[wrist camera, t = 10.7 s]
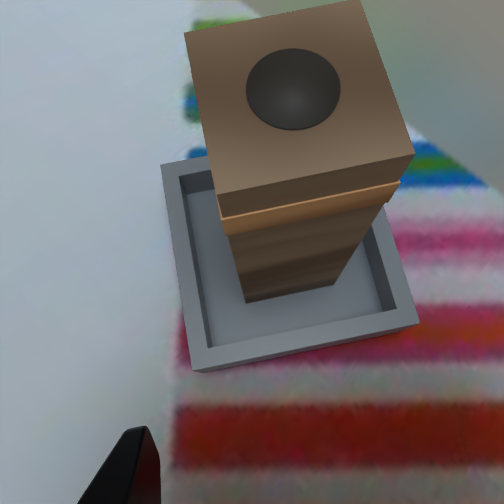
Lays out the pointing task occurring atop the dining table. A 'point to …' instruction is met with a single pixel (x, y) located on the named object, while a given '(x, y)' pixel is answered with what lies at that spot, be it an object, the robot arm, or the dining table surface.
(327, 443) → the dining table surface
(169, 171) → the tray
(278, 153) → the block
